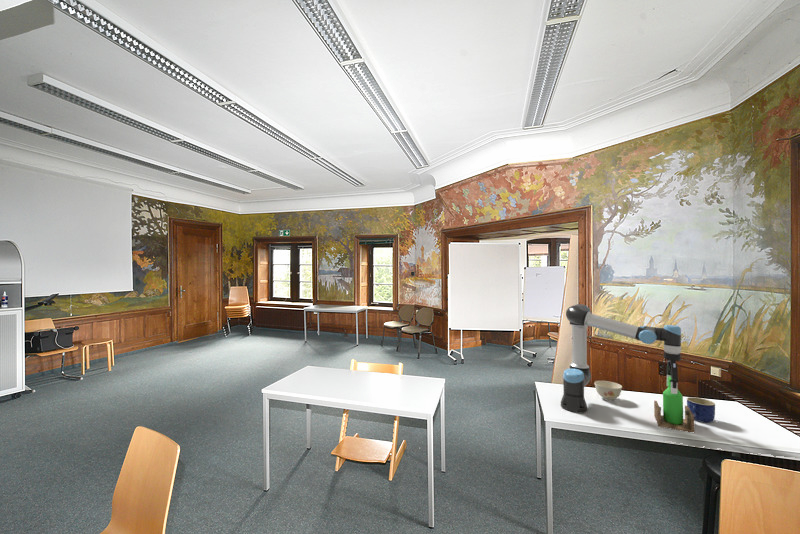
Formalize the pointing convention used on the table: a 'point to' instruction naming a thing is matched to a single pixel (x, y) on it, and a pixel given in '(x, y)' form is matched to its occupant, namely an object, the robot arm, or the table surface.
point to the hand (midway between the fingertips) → (671, 389)
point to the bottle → (672, 406)
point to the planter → (701, 409)
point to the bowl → (608, 389)
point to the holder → (686, 426)
